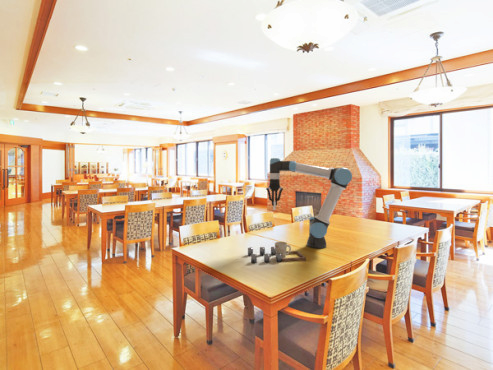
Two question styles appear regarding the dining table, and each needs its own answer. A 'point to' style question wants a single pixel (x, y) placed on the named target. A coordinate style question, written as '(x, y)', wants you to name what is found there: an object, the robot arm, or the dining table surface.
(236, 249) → the dining table surface
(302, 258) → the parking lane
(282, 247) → the mug
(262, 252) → the spacer field
